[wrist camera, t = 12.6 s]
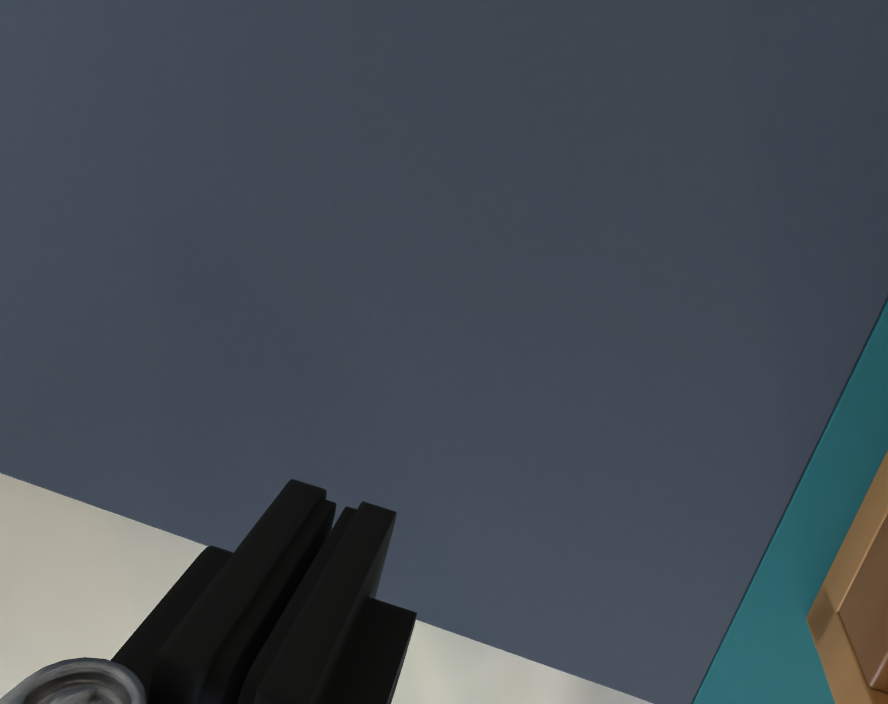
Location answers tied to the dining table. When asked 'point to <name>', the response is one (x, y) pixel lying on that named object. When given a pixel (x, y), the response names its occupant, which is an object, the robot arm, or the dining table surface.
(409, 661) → the dining table surface
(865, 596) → the rack
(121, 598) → the dining table surface
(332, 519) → the robot arm
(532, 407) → the mat
